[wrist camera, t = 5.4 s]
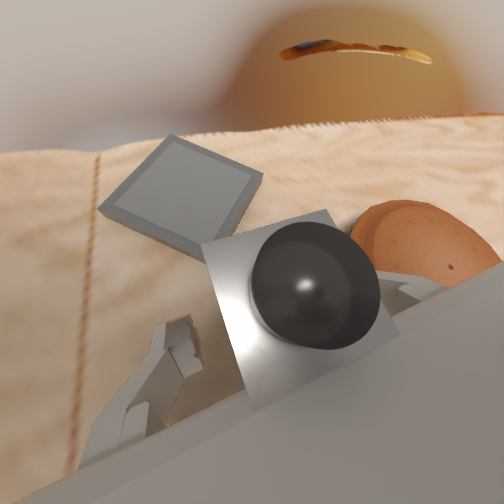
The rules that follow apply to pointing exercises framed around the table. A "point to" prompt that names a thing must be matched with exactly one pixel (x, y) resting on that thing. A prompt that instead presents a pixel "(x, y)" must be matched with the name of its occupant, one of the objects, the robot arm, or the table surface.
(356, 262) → the knob-topped square pillar
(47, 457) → the table surface
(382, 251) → the pie
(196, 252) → the rest tile
